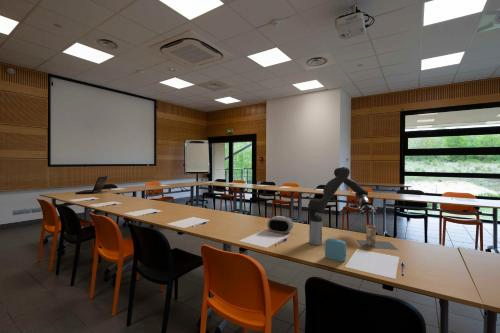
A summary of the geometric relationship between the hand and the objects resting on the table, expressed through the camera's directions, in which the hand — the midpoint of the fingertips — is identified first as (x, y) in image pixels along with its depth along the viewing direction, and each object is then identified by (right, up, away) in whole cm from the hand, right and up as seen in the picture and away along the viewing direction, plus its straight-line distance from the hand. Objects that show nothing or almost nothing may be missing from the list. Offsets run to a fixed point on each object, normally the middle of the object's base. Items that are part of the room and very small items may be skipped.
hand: (368, 213), depth 189 cm
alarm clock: (-65, -21, +26) cm, 73 cm away
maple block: (-2, -22, -6) cm, 23 cm away
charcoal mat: (+3, -22, -6) cm, 23 cm away
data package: (-37, -23, -32) cm, 54 cm away
